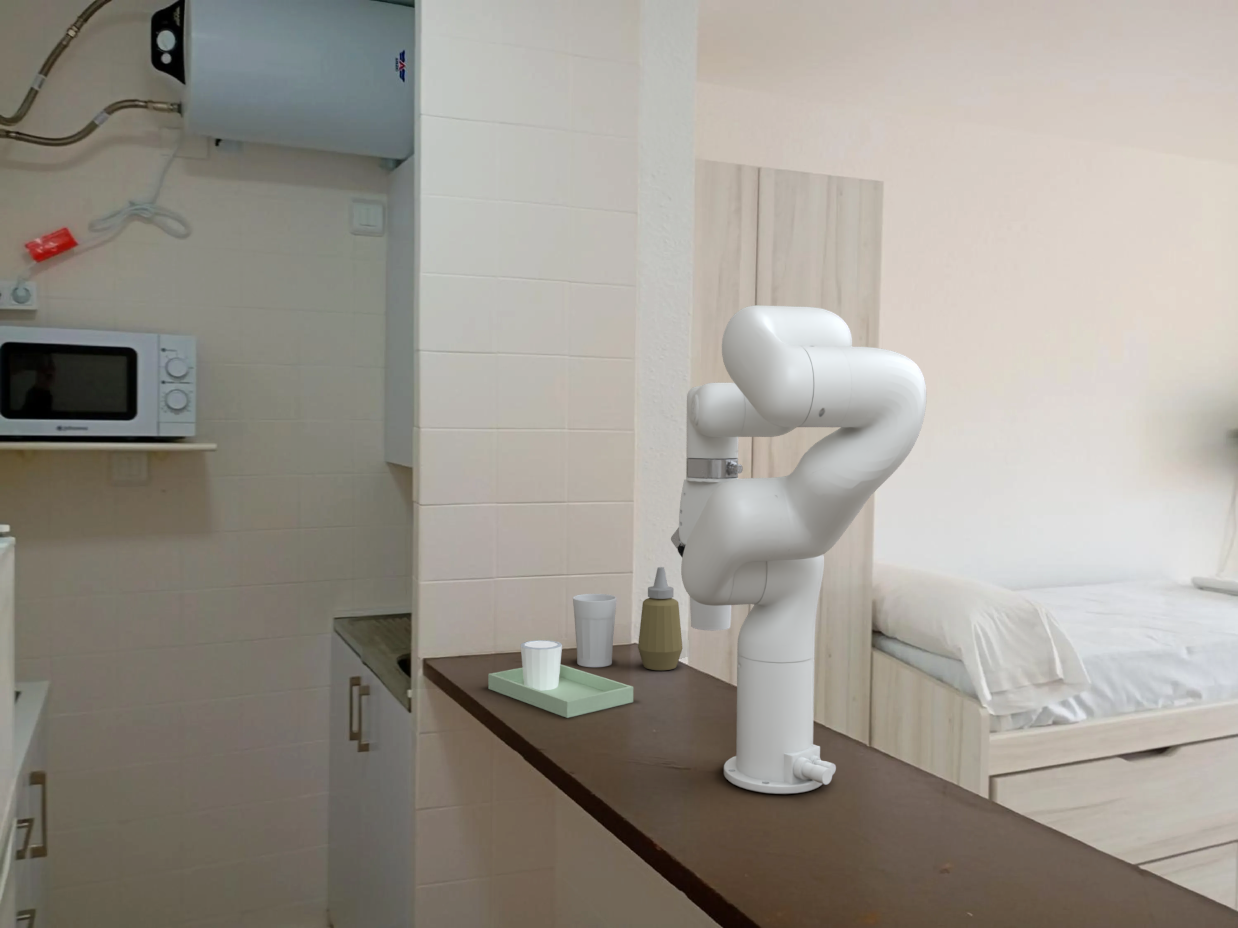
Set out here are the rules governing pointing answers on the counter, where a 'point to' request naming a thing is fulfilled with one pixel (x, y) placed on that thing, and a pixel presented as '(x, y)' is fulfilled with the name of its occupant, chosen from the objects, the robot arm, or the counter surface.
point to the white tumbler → (710, 616)
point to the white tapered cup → (541, 664)
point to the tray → (564, 691)
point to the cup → (594, 628)
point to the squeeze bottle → (660, 626)
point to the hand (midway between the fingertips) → (711, 592)
